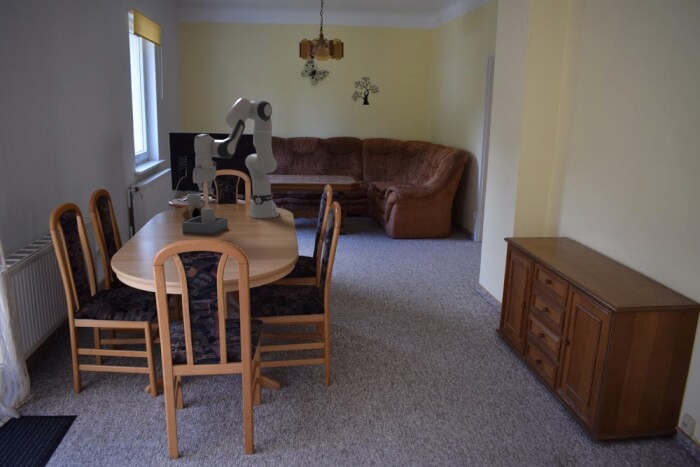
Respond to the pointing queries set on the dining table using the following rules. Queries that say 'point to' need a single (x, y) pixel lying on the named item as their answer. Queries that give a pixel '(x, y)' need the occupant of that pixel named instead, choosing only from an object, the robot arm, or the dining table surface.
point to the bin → (204, 226)
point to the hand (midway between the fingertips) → (205, 189)
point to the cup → (195, 200)
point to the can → (208, 215)
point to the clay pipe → (192, 212)
